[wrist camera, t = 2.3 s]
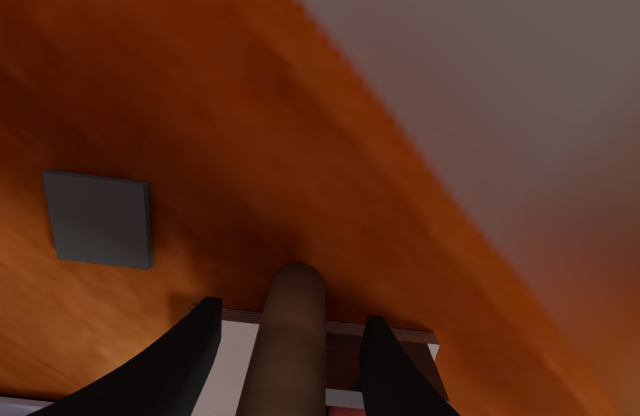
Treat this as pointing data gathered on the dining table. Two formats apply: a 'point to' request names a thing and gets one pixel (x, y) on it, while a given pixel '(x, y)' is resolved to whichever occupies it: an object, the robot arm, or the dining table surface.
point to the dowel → (289, 348)
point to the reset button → (345, 411)
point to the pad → (99, 219)
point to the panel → (341, 362)
